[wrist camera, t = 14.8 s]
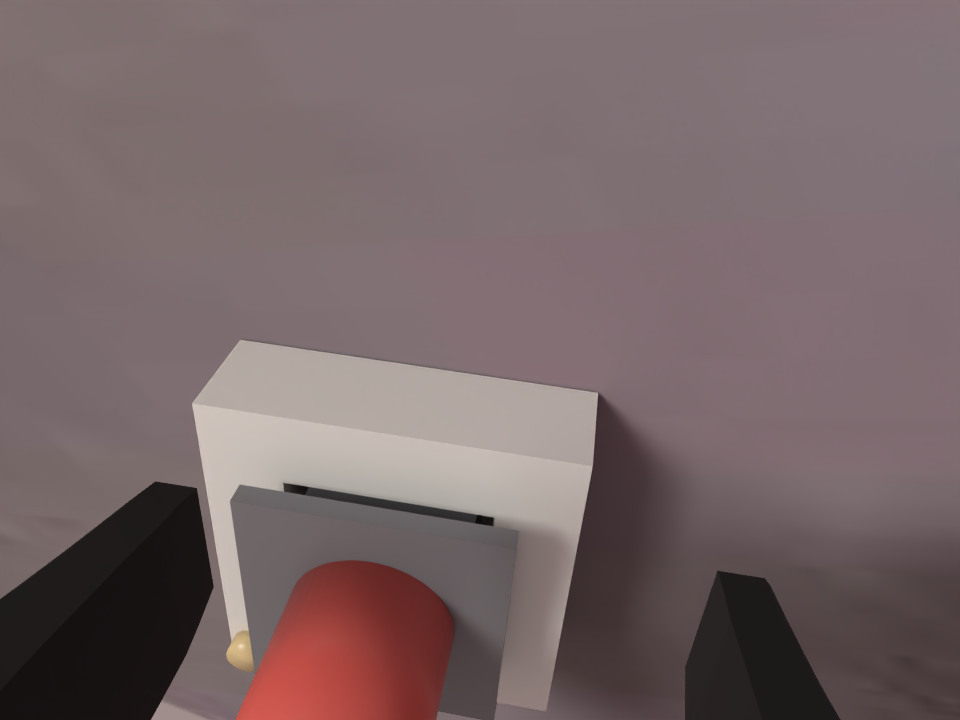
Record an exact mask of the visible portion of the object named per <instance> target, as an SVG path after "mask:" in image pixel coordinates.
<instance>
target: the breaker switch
mask: <svg viewBox="0 0 960 720" xmlns="http://www.w3.org/2000/svg"><path fill="white" fill-rule="evenodd" d="M230 506H231V513H232V520H233V527H234V533H235V540H236V547H237V554H238V561H239V568H240V575H241V581H242V588H243V595H244V602H245V609H246V616H247V623H248V629H249V636H250V643H251V650H252V657H253V664H254V671H255V674H256V672H257V670H258V667H259V665H260V663H261V661H262V658H263V656H264V654H265V651H266V649H267V647H268V645H269V642H270V640H271V638H272V636H273V633H274V631H275V629H276V626H277V624H278V622H279V620H280V617H281V615H282V613H283V611H284V608H285V606H286V604H287V601H288V599H289V597H290V595H291V592H292V590H293V588H294V586H295V584H296V583H297V581H298V580H299V579H300V578H301V577H302V576H303V575H304V574H305V573H307V572H308V571H310V570H311V569H313V568H315V567H318V566H320V565H323V564H326V563H331V562H336V561H350V560H356V561H367V562H373V563H378V564H382V565H386V566H389V567H392V568H395V569H397V570H400V571H402V572H404V573H407V574H409V575H411V576H412V577H414V578H416V579H418V580H419V581H421V582H422V583H424V584H425V585H426V586H428V587H429V588H430V589H431V590H432V591H433V592H435V593H436V594H437V595H438V596H439V598H440V599H441V600H442V601H443V602H444V604H445V605H446V607H447V608H448V610H449V612H450V614H451V616H452V620H453V623H454V631H455V632H454V640H453V645H452V649H451V654H450V659H449V663H448V668H447V672H446V677H445V681H444V686H443V691H442V695H441V700H440V704H439V709H438V711H440V712H445V713H450V714H455V715H461V716H466V717H471V718H477V719H482V720H494V717H495V710H496V704H497V697H498V689H499V682H500V674H501V666H502V659H503V651H504V644H505V636H506V628H507V621H508V613H509V606H510V598H511V590H512V583H513V575H514V568H515V560H516V552H517V545H518V537H519V531H517V530H511V529H505V528H499V527H493V526H487V525H481V523H482V515H476V514H470V513H464V512H458V511H452V510H446V509H440V508H434V507H428V506H422V505H416V504H409V503H403V502H397V501H391V500H385V499H379V498H373V497H367V496H361V495H355V494H349V493H343V492H337V491H331V490H325V489H319V488H312V487H309V488H308V490H307V492H306V494H305V495H301V494H295V493H289V492H283V491H277V490H271V489H265V488H259V487H253V486H247V485H239V486H238V488H237V490H236V491H235V493H234V495H233V497H232V498H231V500H230Z"/></svg>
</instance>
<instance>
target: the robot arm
mask: <svg viewBox="0 0 960 720" xmlns="http://www.w3.org/2000/svg"><path fill="white" fill-rule="evenodd" d="M213 587H214V586H213V580H212V575H211V569H210V563H209V557H208V551H207V545H206V540H205V534H204V528H203V522H202V516H201V511H200V505H199V499H198V493H197V488H193V487H187V486H180V485H174V484H168V483H161V482H154V483H153V484H152V485H150V486H149V487H148V488H146V489H145V490H143V491H142V492H141V493H139V494H138V495H137V496H135V497H134V498H133V499H131V500H130V501H129V502H128V503H126V504H125V505H124V506H122V507H121V508H120V509H119V510H117V511H116V512H115V513H113V514H112V515H111V516H110V517H108V518H107V519H106V520H104V521H103V522H102V523H101V524H99V525H98V526H97V527H95V528H94V529H93V530H92V531H90V532H89V533H88V534H86V535H85V536H84V537H82V538H81V539H80V540H79V541H77V542H76V543H75V544H73V545H72V546H71V547H70V548H68V549H67V550H66V551H64V552H63V553H62V554H60V555H59V556H58V557H56V558H55V559H54V560H52V561H51V562H50V563H48V564H47V565H46V566H44V567H43V568H42V569H40V570H39V571H38V572H36V573H35V574H34V575H32V576H31V577H30V578H28V579H27V580H26V581H24V582H23V583H22V584H20V585H19V586H18V587H16V588H15V589H13V590H12V591H11V592H9V593H8V594H7V595H5V596H4V597H2V598H1V599H0V720H151V718H152V717H153V715H154V713H155V711H156V709H157V708H158V706H159V704H160V702H161V700H162V699H163V697H164V695H165V693H166V691H167V689H168V688H169V686H170V684H171V682H172V680H173V678H174V677H175V675H176V673H177V671H178V669H179V667H180V665H181V664H182V662H183V660H184V658H185V656H186V654H187V652H188V649H189V647H190V645H191V642H192V640H193V637H194V635H195V633H196V630H197V628H198V626H199V623H200V621H201V618H202V615H203V613H204V610H205V608H206V605H207V603H208V600H209V597H210V595H211V592H212V590H213ZM685 720H840V718H839V717H838V715H837V713H836V711H835V710H834V708H833V706H832V705H831V703H830V701H829V699H828V697H827V696H826V694H825V692H824V690H823V688H822V687H821V685H820V683H819V681H818V679H817V677H816V675H815V674H814V672H813V670H812V668H811V666H810V664H809V662H808V660H807V658H806V656H805V655H804V653H803V651H802V649H801V647H800V645H799V643H798V641H797V639H796V637H795V635H794V633H793V631H792V629H791V627H790V625H789V623H788V621H787V619H786V617H785V615H784V613H783V611H782V609H781V607H780V605H779V603H778V601H777V598H776V596H775V594H774V592H773V590H772V588H771V586H770V585H769V583H768V582H767V581H766V579H765V578H759V577H753V576H746V575H740V574H734V573H728V572H721V571H717V574H716V577H715V580H714V583H713V586H712V589H711V592H710V595H709V598H708V601H707V604H706V607H705V610H704V613H703V616H702V619H701V622H700V625H699V628H698V631H697V634H696V637H695V640H694V643H693V646H692V649H691V652H690V655H689V658H688V661H687V664H686V667H685Z"/></svg>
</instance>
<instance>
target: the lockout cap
mask: <svg viewBox="0 0 960 720" xmlns="http://www.w3.org/2000/svg"><path fill="white" fill-rule="evenodd" d="M454 632H455V631H454V623H453V620H452V616H451V614H450V612H449V610H448V608H447V607H446V605H445V604H444V602H443V601H442V600H441V599H440V598H439V596H438V595H437V594H436V593H435V592H433V591H432V590H431V589H430V588H429V587H428V586H426V585H425V584H424V583H422V582H421V581H419V580H418V579H416V578H414V577H412V576H411V575H409V574H407V573H404V572H402V571H400V570H397V569H395V568H392V567H389V566H386V565H382V564H378V563H373V562H367V561H356V560H350V561H336V562H331V563H326V564H323V565H320V566H318V567H315V568H313V569H311V570H310V571H308V572H307V573H305V574H304V575H303V576H302V577H301V578H300V579H299V580H298V581H297V583H296V584H295V586H294V588H293V590H292V592H291V595H290V597H289V599H288V601H287V604H286V606H285V608H284V611H283V613H282V615H281V617H280V620H279V622H278V624H277V626H276V629H275V631H274V633H273V636H272V638H271V640H270V642H269V645H268V647H267V649H266V651H265V654H264V656H263V658H262V661H261V663H260V665H259V667H258V670H257V672H256V674H255V676H254V679H253V681H252V683H251V686H250V688H249V690H248V692H247V695H246V697H245V699H244V701H243V704H242V706H241V708H240V711H239V713H238V715H237V717H236V720H436V718H437V713H438V709H439V704H440V700H441V695H442V691H443V686H444V681H445V677H446V672H447V668H448V663H449V659H450V654H451V649H452V645H453V640H454Z"/></svg>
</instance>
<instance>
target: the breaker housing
mask: <svg viewBox="0 0 960 720" xmlns="http://www.w3.org/2000/svg"><path fill="white" fill-rule="evenodd" d="M597 401H598V393H596V392H589V391H582V390H575V389H569V388H562V387H555V386H548V385H542V384H535V383H528V382H521V381H515V380H508V379H501V378H495V377H488V376H481V375H474V374H468V373H461V372H454V371H447V370H441V369H434V368H427V367H420V366H414V365H407V364H400V363H393V362H387V361H380V360H373V359H366V358H360V357H353V356H346V355H340V354H333V353H326V352H319V351H313V350H306V349H299V348H292V347H286V346H279V345H272V344H265V343H259V342H252V341H245V340H240V341H239V342H238V344H237V345H236V346H235V348H234V349H233V350H232V352H231V353H230V354H229V356H228V357H227V358H226V359H225V361H224V362H223V363H222V365H221V366H220V367H219V369H218V370H217V371H216V373H215V374H214V375H213V377H212V378H211V379H210V381H209V382H208V383H207V385H206V386H205V387H204V389H203V390H202V391H201V392H200V394H199V395H198V396H197V398H196V399H195V400H194V402H193V403H192V405H193V411H194V417H195V423H196V429H197V435H198V441H199V447H200V453H201V459H202V465H203V471H204V477H205V483H206V489H207V495H208V501H209V507H210V513H211V519H212V525H213V532H214V538H215V544H216V550H217V556H218V562H219V568H220V574H221V580H222V586H223V592H224V598H225V604H226V610H227V616H228V622H229V628H230V634H231V640H232V643H231V645H230V647H229V649H228V651H227V654H226V656H227V659H228V661H229V662H230V663H231V664H232V665H233V666H235V667H236V668H238V669H241V670H243V671H247V672H255V671H254V664H253V657H252V650H251V643H250V636H249V629H248V623H247V616H246V609H245V602H244V595H243V588H242V581H241V575H240V568H239V561H238V554H237V547H236V540H235V533H234V527H233V520H232V513H231V506H230V500H231V498H232V497H233V495H234V493H235V491H236V490H237V488H238V486H239V485H247V486H253V487H259V488H265V489H271V490H277V491H283V492H289V493H295V494H301V495H305V494H306V492H307V490H308V488H309V487H312V488H319V489H325V490H331V491H337V492H343V493H349V494H355V495H361V496H367V497H373V498H379V499H385V500H391V501H397V502H403V503H409V504H416V505H422V506H428V507H434V508H440V509H446V510H452V511H458V512H464V513H470V514H476V515H482V523H481V525H487V526H493V527H499V528H505V529H511V530H517V531H519V537H518V545H517V552H516V560H515V568H514V575H513V583H512V590H511V598H510V606H509V613H508V621H507V628H506V636H505V644H504V651H503V659H502V666H501V674H500V682H499V689H498V697H497V702H498V703H503V704H508V705H514V706H519V707H524V708H530V709H535V710H541V711H546V709H547V704H548V698H549V693H550V688H551V683H552V677H553V672H554V667H555V662H556V656H557V651H558V646H559V641H560V635H561V630H562V625H563V620H564V614H565V609H566V604H567V599H568V594H569V588H570V583H571V578H572V573H573V567H574V562H575V557H576V552H577V546H578V541H579V536H580V531H581V525H582V520H583V515H584V510H585V504H586V499H587V494H588V489H589V483H590V478H591V473H592V468H593V456H594V443H595V429H596V415H597Z"/></svg>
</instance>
